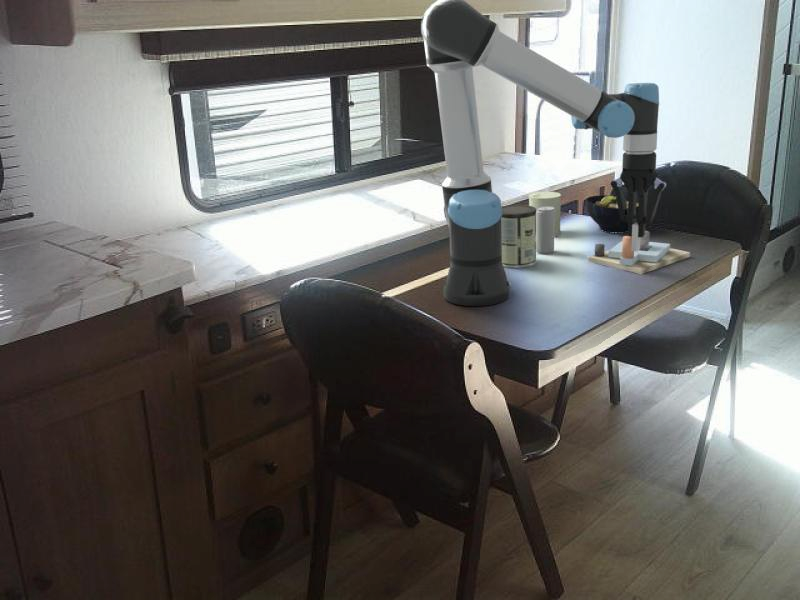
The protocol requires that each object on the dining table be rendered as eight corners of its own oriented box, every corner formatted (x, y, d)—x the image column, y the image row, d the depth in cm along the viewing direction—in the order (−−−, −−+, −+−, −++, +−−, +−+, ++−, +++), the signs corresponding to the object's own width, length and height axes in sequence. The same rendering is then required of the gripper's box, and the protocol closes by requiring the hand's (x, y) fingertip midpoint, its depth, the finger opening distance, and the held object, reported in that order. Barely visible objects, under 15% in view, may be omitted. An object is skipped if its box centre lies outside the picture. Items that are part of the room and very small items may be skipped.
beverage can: (553, 249, 215) (553, 205, 211) (554, 254, 211) (555, 210, 207) (535, 249, 216) (535, 206, 212) (536, 254, 211) (536, 210, 207)
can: (523, 232, 234) (523, 192, 230) (551, 228, 237) (551, 188, 233) (537, 239, 226) (537, 197, 222) (566, 235, 228) (567, 194, 224)
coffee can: (505, 255, 213) (505, 203, 208) (542, 259, 208) (542, 206, 203) (489, 265, 204) (488, 212, 200) (527, 270, 199) (527, 215, 195)
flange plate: (623, 245, 210) (624, 220, 208) (669, 249, 204) (671, 224, 202) (601, 262, 197) (602, 236, 195) (650, 267, 191) (651, 241, 189)
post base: (641, 274, 191) (642, 246, 189) (588, 261, 203) (589, 234, 201) (689, 256, 203) (691, 230, 200) (637, 245, 215) (638, 220, 212)
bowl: (649, 236, 222) (651, 201, 219) (587, 237, 225) (588, 202, 222) (642, 222, 238) (644, 189, 235) (583, 222, 241) (584, 190, 238)
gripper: (672, 150, 185) (667, 248, 192) (617, 148, 191) (614, 244, 199) (663, 154, 179) (658, 256, 186) (607, 153, 186) (604, 251, 193)
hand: (635, 249), depth 192 cm, fingers closed
